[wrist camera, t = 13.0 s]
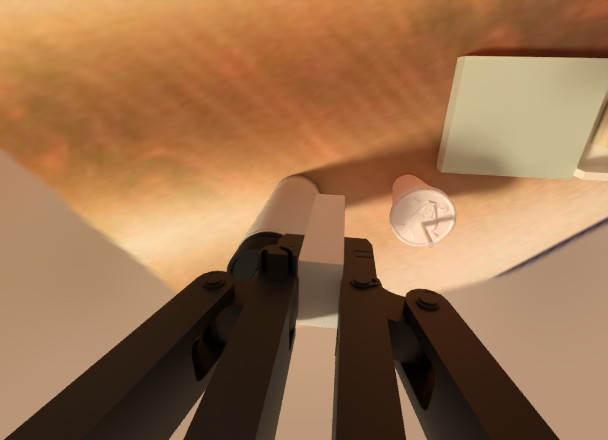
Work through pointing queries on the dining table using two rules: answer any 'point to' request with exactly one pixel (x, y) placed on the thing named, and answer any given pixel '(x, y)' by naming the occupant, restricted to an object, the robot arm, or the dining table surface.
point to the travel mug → (275, 223)
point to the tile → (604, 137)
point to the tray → (594, 155)
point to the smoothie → (420, 212)
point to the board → (521, 115)
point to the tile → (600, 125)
